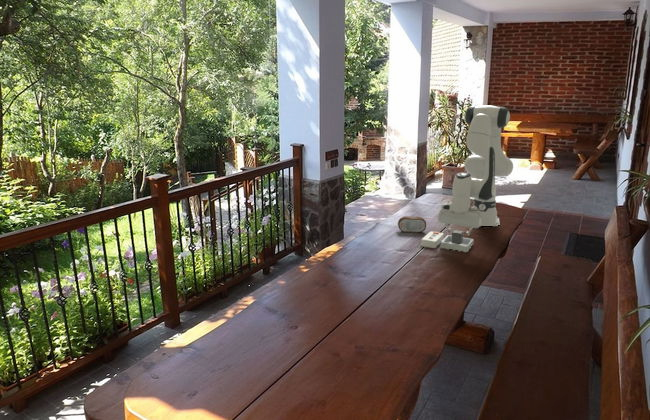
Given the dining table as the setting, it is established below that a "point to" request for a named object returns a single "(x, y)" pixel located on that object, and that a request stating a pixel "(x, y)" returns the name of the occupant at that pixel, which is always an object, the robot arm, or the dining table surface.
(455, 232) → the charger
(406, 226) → the tin
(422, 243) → the power strip
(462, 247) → the tray
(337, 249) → the dining table surface
